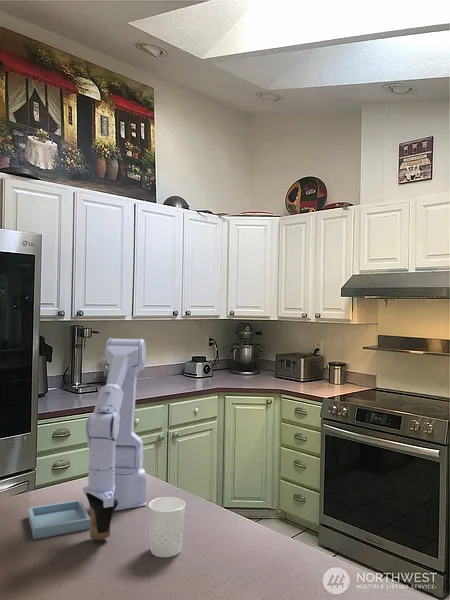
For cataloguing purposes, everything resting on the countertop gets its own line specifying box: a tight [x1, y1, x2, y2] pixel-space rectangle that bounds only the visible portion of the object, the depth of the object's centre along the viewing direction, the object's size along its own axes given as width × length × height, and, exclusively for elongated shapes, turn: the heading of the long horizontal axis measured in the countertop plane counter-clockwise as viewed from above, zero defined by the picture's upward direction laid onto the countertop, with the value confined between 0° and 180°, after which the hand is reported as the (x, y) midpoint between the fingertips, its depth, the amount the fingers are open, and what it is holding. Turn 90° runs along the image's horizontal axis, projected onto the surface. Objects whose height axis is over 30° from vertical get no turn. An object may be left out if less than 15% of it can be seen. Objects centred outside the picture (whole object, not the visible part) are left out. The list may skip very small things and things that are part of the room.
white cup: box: [148, 496, 186, 559], centre depth 106 cm, size 8×8×10 cm
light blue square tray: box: [27, 499, 91, 540], centre depth 118 cm, size 13×13×2 cm
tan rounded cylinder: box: [89, 507, 112, 541], centre depth 110 cm, size 4×4×6 cm
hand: (100, 527), depth 110 cm, fingers closed on tan rounded cylinder, 4 cm apart
